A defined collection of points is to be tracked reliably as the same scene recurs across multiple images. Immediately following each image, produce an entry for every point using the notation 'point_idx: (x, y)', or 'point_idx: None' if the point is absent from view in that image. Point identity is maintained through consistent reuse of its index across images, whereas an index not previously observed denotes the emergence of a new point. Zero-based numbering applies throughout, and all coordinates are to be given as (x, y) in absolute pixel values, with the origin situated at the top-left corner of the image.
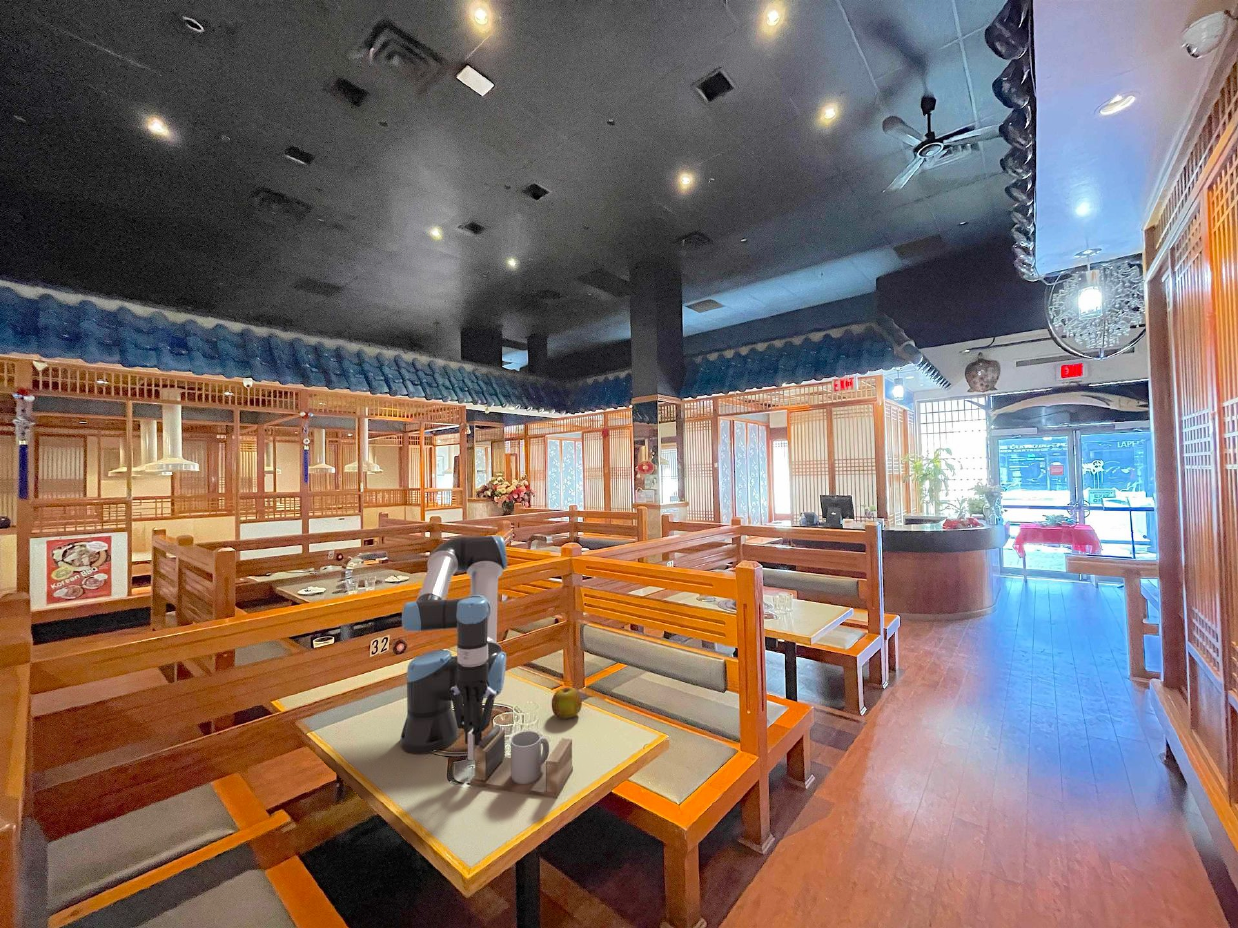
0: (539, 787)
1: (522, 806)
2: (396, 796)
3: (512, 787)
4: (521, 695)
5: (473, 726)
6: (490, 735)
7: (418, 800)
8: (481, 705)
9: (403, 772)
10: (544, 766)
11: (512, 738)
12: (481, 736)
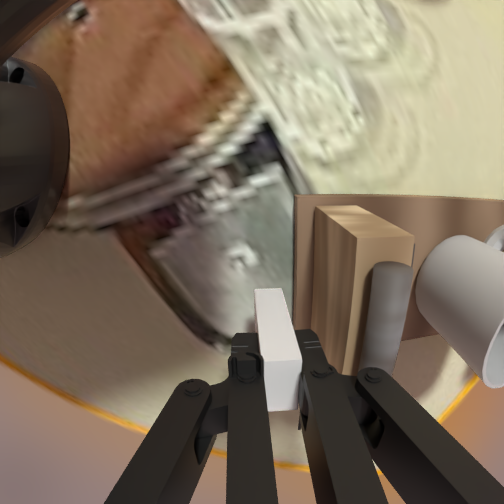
0: None
1: (447, 360)
2: (129, 413)
3: (425, 335)
4: None
5: (304, 435)
6: (391, 372)
7: None
8: (380, 502)
9: (58, 336)
10: (484, 221)
11: (486, 353)
12: (321, 348)
